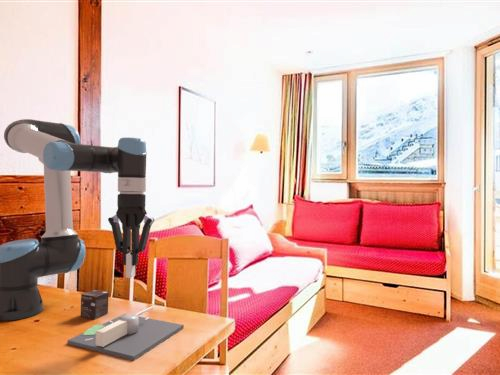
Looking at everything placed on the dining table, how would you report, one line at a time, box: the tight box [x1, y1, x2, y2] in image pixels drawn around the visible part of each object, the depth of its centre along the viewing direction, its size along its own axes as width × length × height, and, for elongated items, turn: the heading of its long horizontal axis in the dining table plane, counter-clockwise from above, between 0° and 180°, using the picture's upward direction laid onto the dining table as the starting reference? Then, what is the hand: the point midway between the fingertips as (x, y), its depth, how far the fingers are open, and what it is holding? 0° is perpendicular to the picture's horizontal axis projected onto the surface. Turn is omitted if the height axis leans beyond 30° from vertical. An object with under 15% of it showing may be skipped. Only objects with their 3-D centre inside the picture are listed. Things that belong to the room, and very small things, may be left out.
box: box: [80, 289, 109, 320], centre depth 118 cm, size 6×6×7 cm
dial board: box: [67, 313, 185, 361], centre depth 103 cm, size 23×22×1 cm
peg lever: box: [96, 305, 154, 347], centre depth 102 cm, size 21×5×4 cm, turn 158°
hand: (130, 276), depth 102 cm, fingers closed
